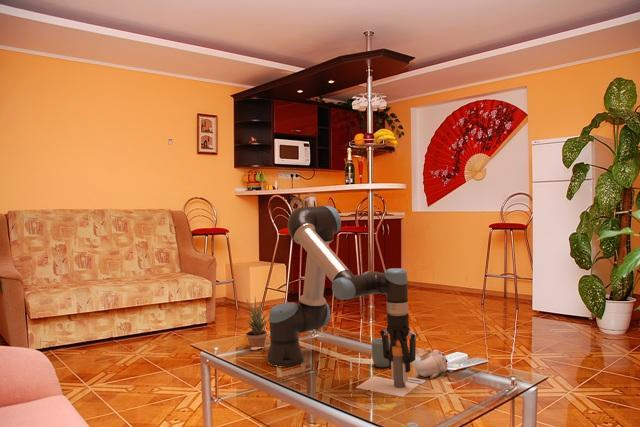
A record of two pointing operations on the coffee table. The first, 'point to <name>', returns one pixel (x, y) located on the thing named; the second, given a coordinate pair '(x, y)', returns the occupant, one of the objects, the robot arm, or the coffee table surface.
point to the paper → (386, 386)
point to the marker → (398, 366)
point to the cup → (379, 353)
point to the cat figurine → (431, 364)
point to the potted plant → (256, 328)
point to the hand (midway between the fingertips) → (400, 379)
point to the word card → (415, 380)
